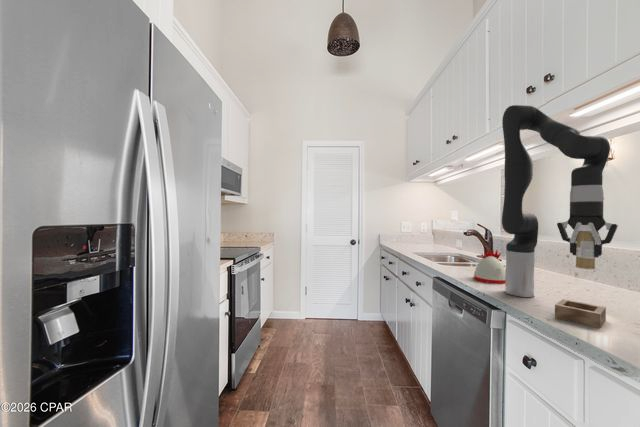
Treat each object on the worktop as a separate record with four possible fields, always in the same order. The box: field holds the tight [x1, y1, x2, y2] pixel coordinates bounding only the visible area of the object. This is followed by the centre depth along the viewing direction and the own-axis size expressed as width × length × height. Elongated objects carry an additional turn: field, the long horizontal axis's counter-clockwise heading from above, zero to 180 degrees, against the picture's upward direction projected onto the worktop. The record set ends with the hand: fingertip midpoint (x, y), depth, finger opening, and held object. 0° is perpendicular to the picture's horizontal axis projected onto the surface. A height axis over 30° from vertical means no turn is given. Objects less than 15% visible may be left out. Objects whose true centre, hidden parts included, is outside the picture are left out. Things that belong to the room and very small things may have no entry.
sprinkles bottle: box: [575, 225, 596, 270], centre depth 86 cm, size 5×5×14 cm
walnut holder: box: [554, 298, 607, 329], centre depth 86 cm, size 10×10×4 cm
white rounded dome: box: [473, 249, 506, 285], centre depth 136 cm, size 14×14×15 cm
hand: (585, 255), depth 86 cm, fingers closed on sprinkles bottle, 4 cm apart
